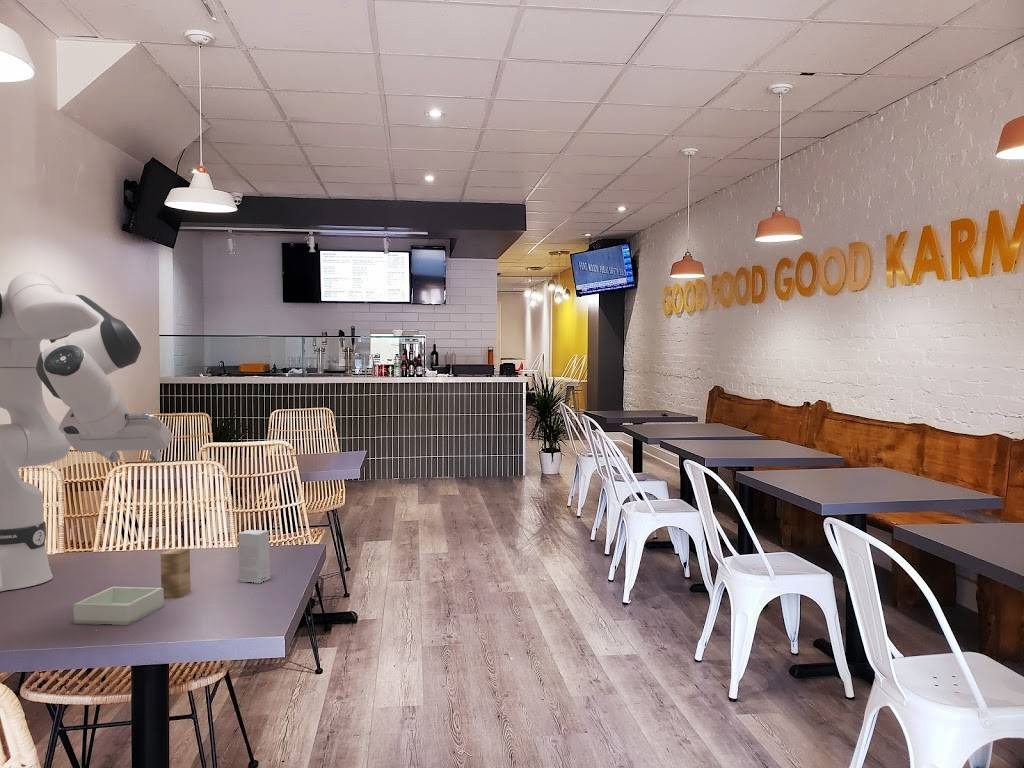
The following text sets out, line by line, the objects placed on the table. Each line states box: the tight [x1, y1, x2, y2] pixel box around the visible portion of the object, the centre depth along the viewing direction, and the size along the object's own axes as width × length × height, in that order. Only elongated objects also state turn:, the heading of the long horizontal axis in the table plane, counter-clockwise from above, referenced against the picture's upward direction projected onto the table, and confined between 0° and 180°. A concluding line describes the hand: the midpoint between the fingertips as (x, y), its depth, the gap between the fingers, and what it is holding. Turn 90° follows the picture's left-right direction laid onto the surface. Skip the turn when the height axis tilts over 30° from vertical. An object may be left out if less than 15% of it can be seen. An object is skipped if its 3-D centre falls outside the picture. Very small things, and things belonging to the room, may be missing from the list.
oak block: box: [160, 548, 192, 599], centre depth 169 cm, size 4×4×10 cm
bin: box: [73, 586, 165, 626], centre depth 156 cm, size 12×12×4 cm
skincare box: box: [237, 529, 271, 584], centre depth 179 cm, size 6×4×12 cm
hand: (136, 459), depth 157 cm, fingers open, 8 cm apart
